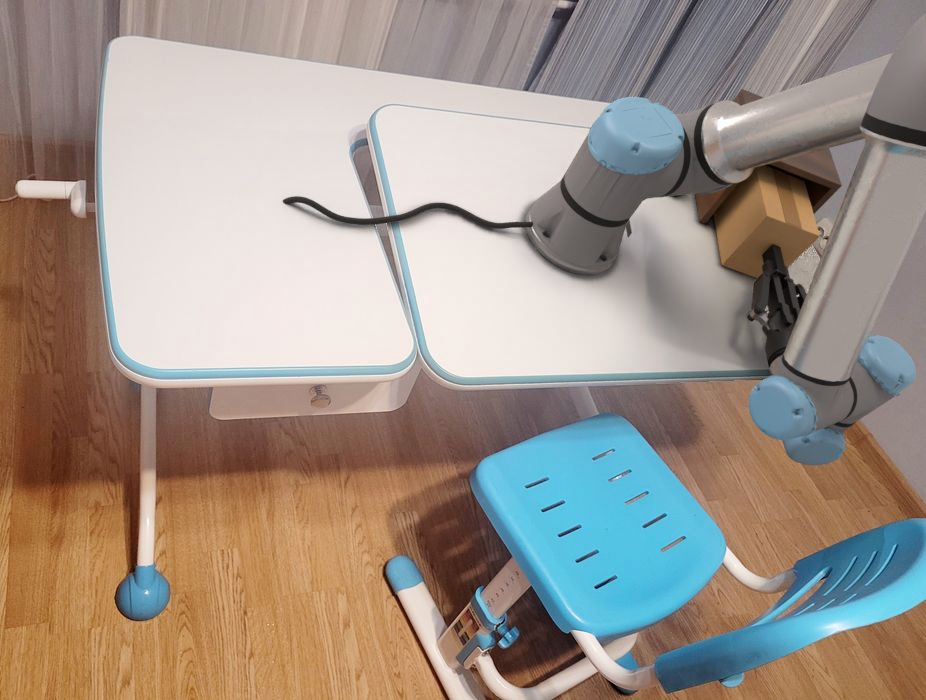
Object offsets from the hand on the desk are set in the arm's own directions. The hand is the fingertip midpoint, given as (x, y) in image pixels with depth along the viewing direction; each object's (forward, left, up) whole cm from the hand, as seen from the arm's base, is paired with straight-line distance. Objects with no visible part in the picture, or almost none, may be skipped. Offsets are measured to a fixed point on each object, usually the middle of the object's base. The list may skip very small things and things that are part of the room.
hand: (771, 251), depth 125 cm
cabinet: (-2, +18, -6) cm, 19 cm away
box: (-1, +7, -6) cm, 10 cm away
